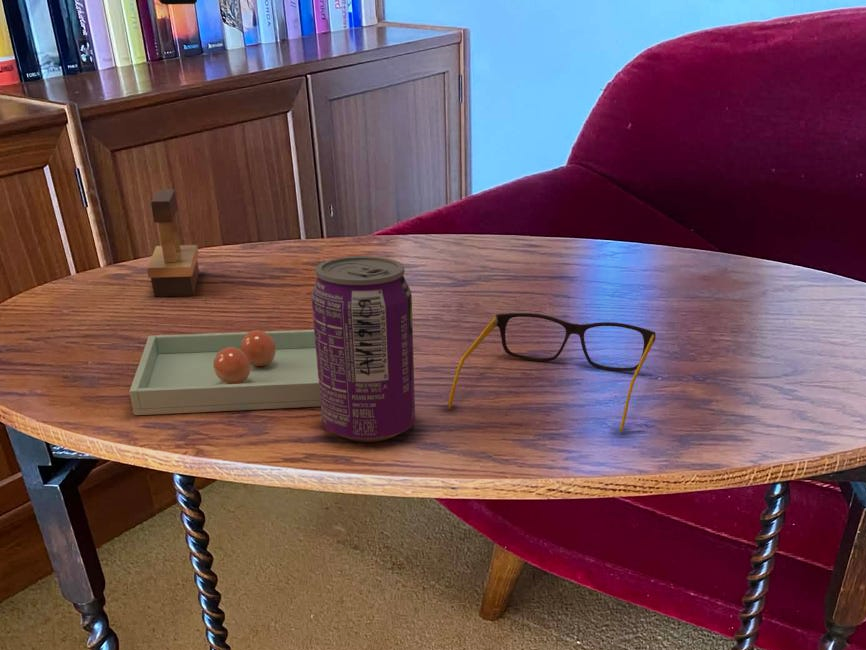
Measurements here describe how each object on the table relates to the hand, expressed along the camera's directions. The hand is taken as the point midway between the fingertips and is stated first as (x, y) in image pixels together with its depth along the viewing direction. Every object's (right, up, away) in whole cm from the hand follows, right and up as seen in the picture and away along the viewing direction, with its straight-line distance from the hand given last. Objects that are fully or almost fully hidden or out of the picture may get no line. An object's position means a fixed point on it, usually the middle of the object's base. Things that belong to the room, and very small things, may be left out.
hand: (161, 1), depth 86 cm
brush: (-4, -19, +18) cm, 27 cm away
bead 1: (+8, -35, -7) cm, 36 cm away
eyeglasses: (+35, -36, -5) cm, 50 cm away
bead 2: (+10, -32, -3) cm, 34 cm away
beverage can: (+20, -41, -12) cm, 47 cm away
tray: (+9, -35, -4) cm, 36 cm away
